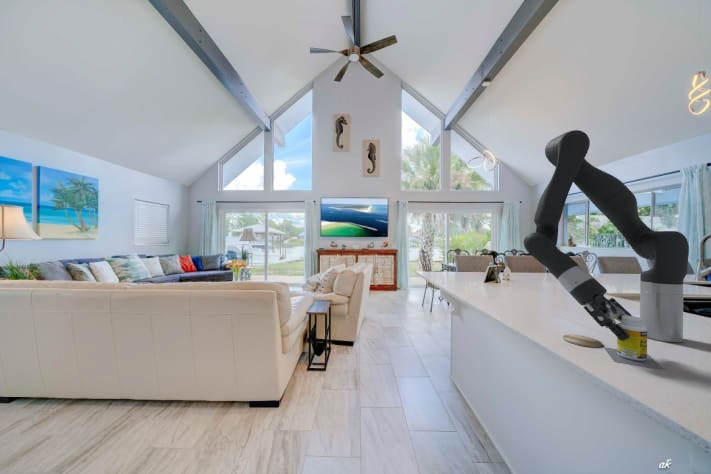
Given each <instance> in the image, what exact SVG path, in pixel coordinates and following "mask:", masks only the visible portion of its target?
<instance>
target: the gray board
mask: <svg viewBox="0 0 711 474" xmlns="http://www.w3.org/2000/svg"><path fill="white" fill-rule="evenodd" d="M603 349H604V350H605V352H606V353H607V354H608V355H609V357H610V358H611V359H612V361H613V362H614V363H620V364H625V365H630V366H631V365H632V366H637V367H641V368H642V367H643V368H648V369H653V370H660V371H664V370H665V371H664V372H666V369H665V368H664V367H663V366H662V365H661V364H660V363H658V362H657V361H656V360H655V359H654V358H653V357H652V356H651V355H650V354H648V353H647V359H646V360H645V361H636V360H631V359H627V358H624V357H622V356H620V355H619V354H618V353H617V348H611V347H607V346H603Z"/></svg>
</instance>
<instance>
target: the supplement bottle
mask: <svg viewBox="0 0 711 474" xmlns="http://www.w3.org/2000/svg"><path fill="white" fill-rule="evenodd" d="M621 322H622V323H621ZM621 322H619V323H618V322H617V323H618V324H619V325H620V326H621V327H622V328H623V329H624V330H625V331H626V332H627V333H628V334H629V335H630V338H628V339H626V340H624V341H621V340H620V339H619V338H618V337H617V336H616V341H617V342H616V349H617V353H618V354H619V355H620V356H622V357H624V358H627V359H631V360H636V361H645V360H646V359H647V354H648V337H647V328H646V327H644V326H642V325H643V319H642V318H640V316H639V317H637V316H634V315H633V316H622V321H621Z"/></svg>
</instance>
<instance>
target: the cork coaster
mask: <svg viewBox="0 0 711 474" xmlns="http://www.w3.org/2000/svg"><path fill="white" fill-rule="evenodd" d="M562 339H563V341H565V342H567V343H570V344H573V345H577V346H579V347H585V348H601V347H603V342H602V341H601V340H598V339H596V338H593V337H590V336H585V335H580V334H564V335H562Z"/></svg>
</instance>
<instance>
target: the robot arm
mask: <svg viewBox="0 0 711 474" xmlns="http://www.w3.org/2000/svg"><path fill="white" fill-rule="evenodd" d="M590 140H591V139H590V137H589V136H588V134H587V133H586V132H584V131H583V130H578V129H575V130H569V131H566V132H564V133H562V134H560V135H559V136H556V137H555V138H552V139H551V140H549V141H548V142H547V143H546V145H545V148H544V155H545V158H547V160H548V162H549V163H550V164H552V166H554V167H555V169H554V171H553V174H552V175H551V178H550V180H549V182H548V184H547V186H546V187H545V188H544V190H543V192H542V194H541V196H540V198H539V201H538V203H537V207H536V210H535V213H534V217H533V222H534V224H535V225H536V226H535V232H534V231H533V232H530V233H529V234H527V235H526V236H524V240H523V246H524V249H525V250H526V252H528V254H529V255H530V256H532V257H533V258H534V259H535V260H536V261H538V263H540V264H542V265H543V266H544V267H545V268H546V269H547V270H548V271H549V272H550V273H551V274H552V276H554V278H555V279H556V280H558V282H559V283H560V285H561V286H562V287H563V288H564V290H566V292H568V293H569V294H570V295H571V297H573V298H574V299H575V301H576V302H577V303H578V304H579V305H580V306H583V309H584V310H585V311H586V312H587V314H588V315H590V316H591V318H592V319H593V320H594V321H595V322H596V323H597V324H598V325H599V326H600V327H601V328H603V327H605V328H606V329H609V330H610V331H611V333H613V334H614V335H615V337H616V338H617V337H618V338H619V339H620V340H621V341H624V340H626V339H628V338H630V335H629V334H628V333H627V332H626V331H625V330H624V329H623V328H622V327H621V326H620V325H619V324H618V322H619V323H622V322H621V321H622V316H632V314H631V313H630V312H629V311H628V310H627V309H625V307H624V306H622V305H621V304H620V303H619V302H618V301H617V300H616V299H615V298H614V297H610V298H609V299H608V298H607V297H606V296H605V295H606V294H607V292H608V290H607V289H606V287H605V286H603V285H602V284H601V283H600V282H599V281H598V280H597V279H596V278H595V277H594V276H593V275H592V274H590V273H589V272H588V271H587V270H586V269H585V268H583V267H582V266H580V264H578V262H576V261H575V259H573V258H572V257H571V256H569V254H567V253H565V252H563V251H561V249H559V248H558V247H557V243H558V239H559V238H558V237H559V224H560V222H561V218H562V215H563V212H564V208H565V205H566V201H567V199H568V196H569V193H570V190H571V188H572V185H573V184H574V185H575V186H576V187H577V188H578V189H579V190H580V191H581V192H582V193H583V194H584V195H585V196H586V197H587V198H588V200H590V202H591V203H592V204H593V205H594V206H595V207H596V208H597V209H598V210H599V211H600V212H601V214H603V215H604V216H605V217H606V218H607V220H608V221H610V223H612V225H613V226H614V227H615V228H616V230H617V231H619V233H620V234H621V235H622V237H623V238H624V239H625V240H626V242H627V243H628V245H629V246H630V247H631V249H632V250H633V251H634V252H635V253H636V255H638V256H639V257H640V258H643V259H645V260H652V261H654V262H653V263H654V264H653V267H651V268H650V269H647V270H644V271H642V272H640V276H639V277H640V279H639V280H640V281H639V292H640V293H639V318H642V319H643V325H642V326H644V327H646V328H647V339H652V340H656V341H661V342H669V343H683V342H684V279H685V277H686V275H687V273H688V268H689V254H690V245H689V241H688V239H687V237H686V236H685V234H683V233H682V232H679V231H675V230H657V231H656V230H655V231H654V230H652V229H651V228H650V227H649V226H648V225H647V224H646V223H645V222H644V221H643V220H642V219H641V217H640V216H639V211H638V208H639V207H638V200H637V197H636V196H635V194H634V193H633V192H632V191H631V190H630V189H629V187H628V186H627V185H626V184H625V183H624V182H623V181H621V180H620V179H619V178H618V177H615V176H614V175H612V174H610V173H608V172H607V171H603V169H602V170H601V169H599V168H598V167H595V166H594V165H592V164H591V163H590V162H589V161H587V160H586V156H587V154H588V151H589V149H590V146H591V143H590V142H591V141H590ZM616 320H617V321H618V322H617V321H616Z"/></svg>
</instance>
